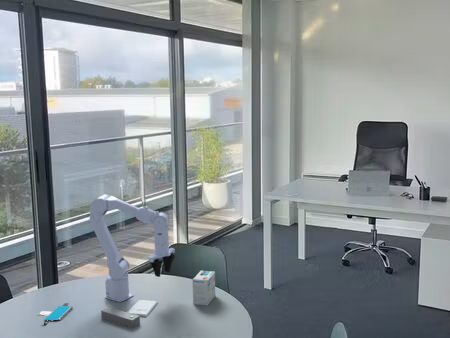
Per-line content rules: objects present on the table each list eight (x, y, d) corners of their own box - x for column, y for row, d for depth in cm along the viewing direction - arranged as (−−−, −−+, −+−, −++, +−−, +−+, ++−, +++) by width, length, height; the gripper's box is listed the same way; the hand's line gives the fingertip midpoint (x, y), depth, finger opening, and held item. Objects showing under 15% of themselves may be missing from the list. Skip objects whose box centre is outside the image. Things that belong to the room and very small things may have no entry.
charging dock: (101, 318, 179) (101, 310, 179) (109, 314, 183) (109, 306, 182) (132, 328, 171) (132, 319, 170) (140, 323, 174) (139, 315, 174)
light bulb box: (200, 294, 201) (200, 269, 200) (215, 295, 199) (215, 271, 198) (192, 304, 191) (191, 278, 189) (208, 305, 189) (207, 280, 188)
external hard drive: (157, 304, 192) (146, 318, 180) (138, 303, 194) (126, 316, 182) (157, 301, 192) (146, 314, 180) (138, 299, 194) (126, 312, 181)
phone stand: (51, 304, 194) (51, 300, 194) (79, 305, 193) (78, 301, 193) (26, 326, 175) (25, 322, 174) (56, 327, 173) (56, 323, 173)
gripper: (157, 248, 186) (158, 281, 188) (180, 239, 198) (180, 270, 200) (144, 245, 190) (145, 278, 192) (167, 237, 202) (168, 267, 204)
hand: (162, 273), depth 196 cm, fingers open, 6 cm apart
